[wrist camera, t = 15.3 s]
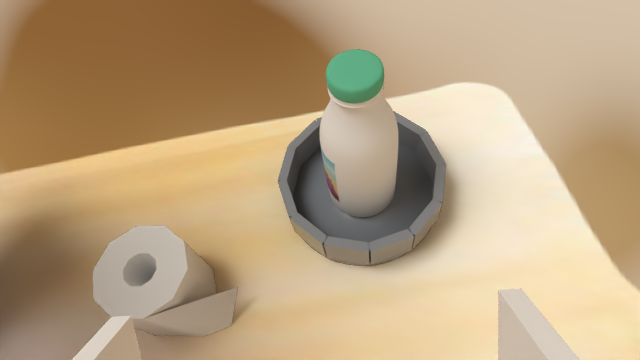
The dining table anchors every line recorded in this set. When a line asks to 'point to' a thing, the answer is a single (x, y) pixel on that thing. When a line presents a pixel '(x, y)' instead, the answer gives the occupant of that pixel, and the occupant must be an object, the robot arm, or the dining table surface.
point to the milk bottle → (358, 135)
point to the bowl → (364, 232)
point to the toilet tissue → (161, 285)
